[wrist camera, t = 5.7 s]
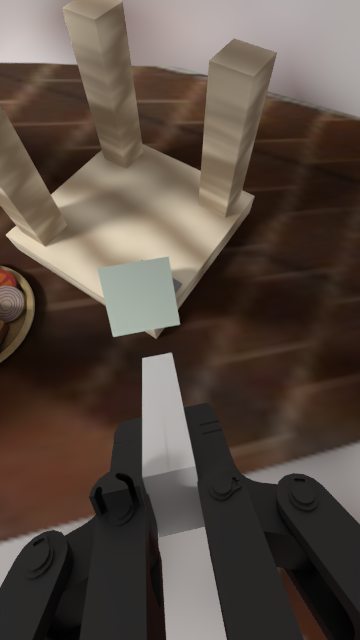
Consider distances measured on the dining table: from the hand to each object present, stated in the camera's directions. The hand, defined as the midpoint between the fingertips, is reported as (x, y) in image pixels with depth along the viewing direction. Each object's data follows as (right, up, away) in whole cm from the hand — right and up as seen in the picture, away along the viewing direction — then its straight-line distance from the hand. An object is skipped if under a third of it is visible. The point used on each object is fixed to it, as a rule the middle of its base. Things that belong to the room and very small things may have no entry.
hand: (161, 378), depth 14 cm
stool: (-4, +14, +19) cm, 24 cm away
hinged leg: (-2, +7, +12) cm, 14 cm away
